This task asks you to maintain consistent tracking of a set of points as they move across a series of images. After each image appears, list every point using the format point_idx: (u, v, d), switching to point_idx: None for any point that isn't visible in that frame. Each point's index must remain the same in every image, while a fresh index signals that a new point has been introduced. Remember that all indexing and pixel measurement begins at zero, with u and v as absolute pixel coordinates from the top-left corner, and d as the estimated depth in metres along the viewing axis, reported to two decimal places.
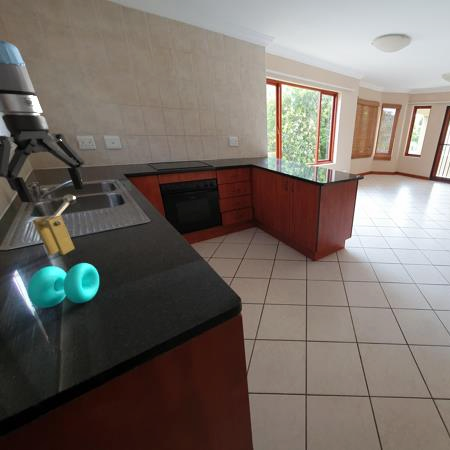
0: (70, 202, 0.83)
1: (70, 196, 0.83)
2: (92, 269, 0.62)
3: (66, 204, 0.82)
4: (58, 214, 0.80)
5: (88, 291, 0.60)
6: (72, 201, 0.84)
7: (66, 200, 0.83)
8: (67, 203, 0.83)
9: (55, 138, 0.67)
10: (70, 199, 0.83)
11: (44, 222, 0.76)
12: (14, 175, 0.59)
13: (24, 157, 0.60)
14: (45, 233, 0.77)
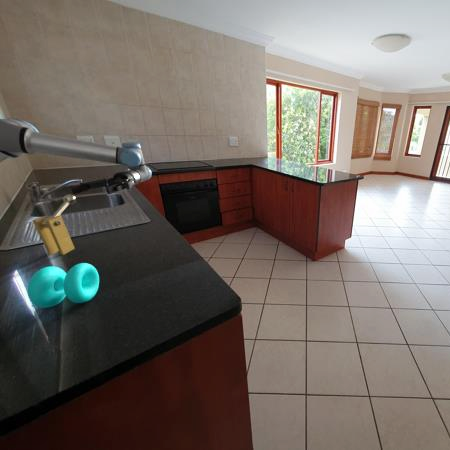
0: (70, 202, 0.83)
1: (70, 196, 0.83)
2: (92, 269, 0.62)
3: (66, 204, 0.82)
4: (58, 214, 0.80)
5: (87, 291, 0.60)
6: (72, 201, 0.84)
7: (66, 200, 0.83)
8: (67, 203, 0.83)
9: (128, 181, 1.06)
10: (70, 199, 0.83)
11: (44, 222, 0.76)
12: (84, 183, 0.99)
13: (100, 181, 1.02)
14: (45, 233, 0.77)
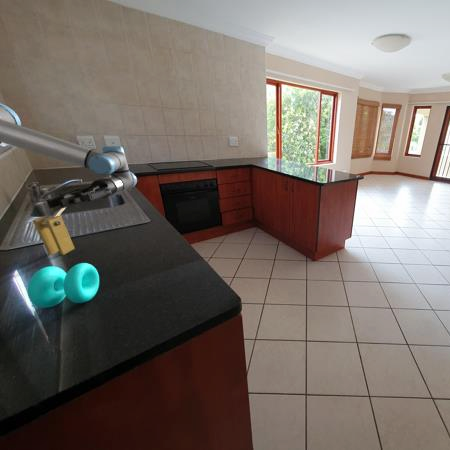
0: None
1: (70, 196, 0.83)
2: (92, 269, 0.62)
3: None
4: (58, 214, 0.80)
5: (87, 291, 0.60)
6: None
7: None
8: None
9: None
10: None
11: (44, 222, 0.76)
12: (64, 194, 0.85)
13: (79, 190, 0.90)
14: (45, 233, 0.77)
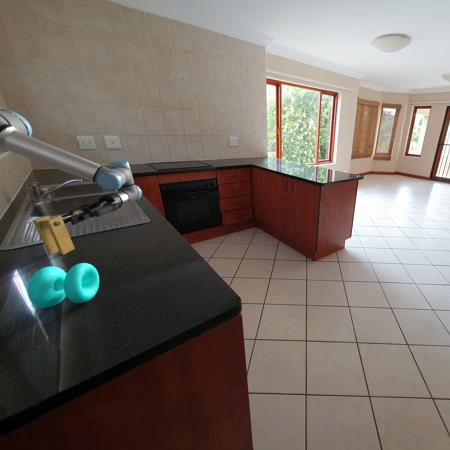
0: None
1: (81, 211, 0.88)
2: (92, 269, 0.62)
3: None
4: None
5: (87, 291, 0.60)
6: None
7: (75, 213, 0.86)
8: None
9: None
10: None
11: (45, 220, 0.76)
12: (73, 210, 0.89)
13: (87, 206, 0.94)
14: (45, 233, 0.77)
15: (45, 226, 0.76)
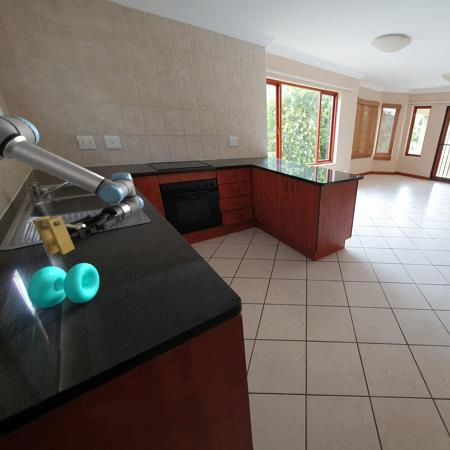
0: (78, 227, 0.87)
1: (83, 224, 0.89)
2: (92, 269, 0.62)
3: (74, 226, 0.86)
4: None
5: (87, 291, 0.60)
6: (81, 227, 0.87)
7: (77, 224, 0.87)
8: (76, 226, 0.86)
9: None
10: (81, 225, 0.88)
11: (47, 219, 0.77)
12: (74, 223, 0.90)
13: (89, 219, 0.95)
14: (45, 233, 0.77)
15: (44, 224, 0.76)
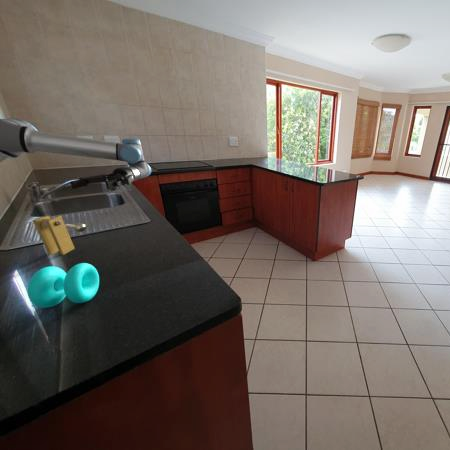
0: (78, 227, 0.87)
1: (83, 224, 0.89)
2: (92, 269, 0.62)
3: (74, 226, 0.86)
4: None
5: (87, 291, 0.60)
6: (81, 227, 0.87)
7: (77, 224, 0.87)
8: (76, 226, 0.86)
9: None
10: (81, 225, 0.88)
11: (47, 219, 0.77)
12: (84, 178, 0.98)
13: (99, 176, 1.02)
14: (45, 233, 0.77)
15: (44, 224, 0.76)
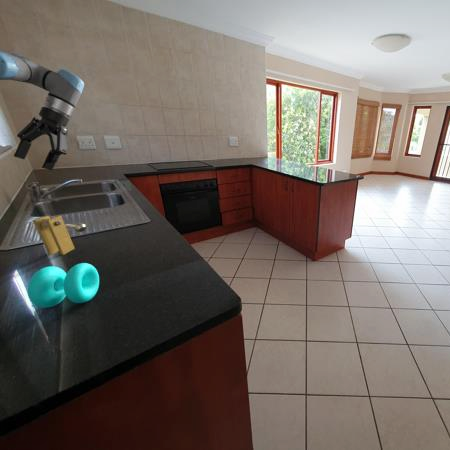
0: (78, 227, 0.87)
1: (83, 224, 0.89)
2: (92, 269, 0.62)
3: (74, 226, 0.86)
4: None
5: (87, 291, 0.60)
6: (81, 227, 0.87)
7: (77, 224, 0.87)
8: (76, 226, 0.86)
9: None
10: (81, 225, 0.88)
11: (47, 219, 0.77)
12: (20, 138, 0.88)
13: (33, 131, 0.88)
14: (45, 233, 0.77)
15: (44, 224, 0.76)
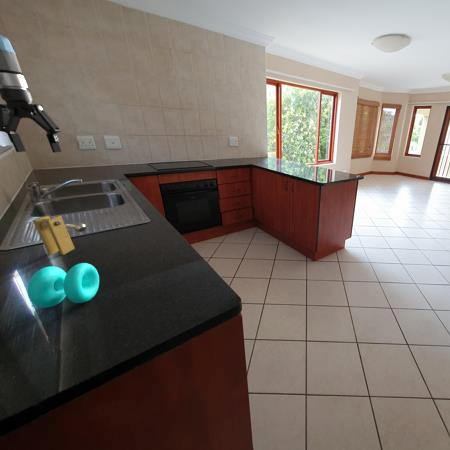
0: (78, 227, 0.87)
1: (83, 224, 0.89)
2: (92, 269, 0.62)
3: (74, 226, 0.86)
4: None
5: (87, 291, 0.60)
6: (81, 227, 0.87)
7: (77, 224, 0.87)
8: (76, 226, 0.86)
9: None
10: (81, 225, 0.88)
11: (47, 219, 0.77)
12: (6, 131, 0.87)
13: (11, 120, 0.85)
14: (45, 233, 0.77)
15: (44, 224, 0.76)
